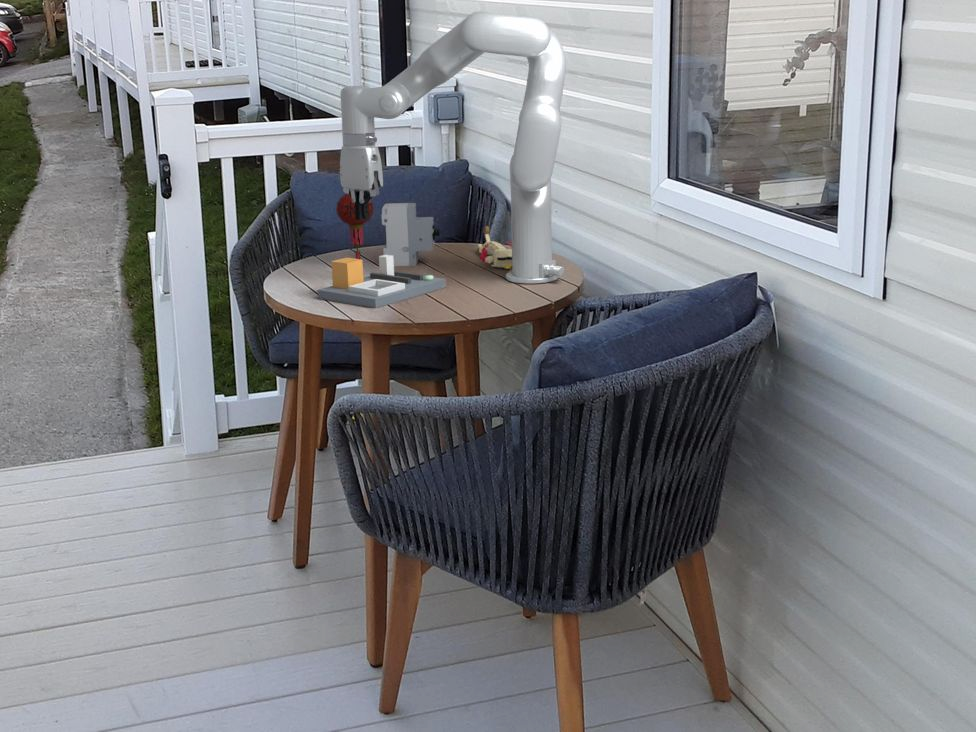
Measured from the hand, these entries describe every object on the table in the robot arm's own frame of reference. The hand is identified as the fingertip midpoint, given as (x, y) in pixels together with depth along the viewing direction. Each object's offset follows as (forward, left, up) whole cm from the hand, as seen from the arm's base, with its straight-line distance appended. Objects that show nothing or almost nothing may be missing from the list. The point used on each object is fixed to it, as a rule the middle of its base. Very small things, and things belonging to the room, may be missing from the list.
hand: (362, 219), depth 277 cm
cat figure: (-12, -37, -16) cm, 42 cm away
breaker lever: (-7, 0, -13) cm, 15 cm away
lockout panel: (-11, +6, -15) cm, 20 cm away
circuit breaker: (+6, -24, -16) cm, 30 cm away
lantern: (+14, -12, -16) cm, 24 cm away
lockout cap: (-5, +11, -13) cm, 18 cm away
